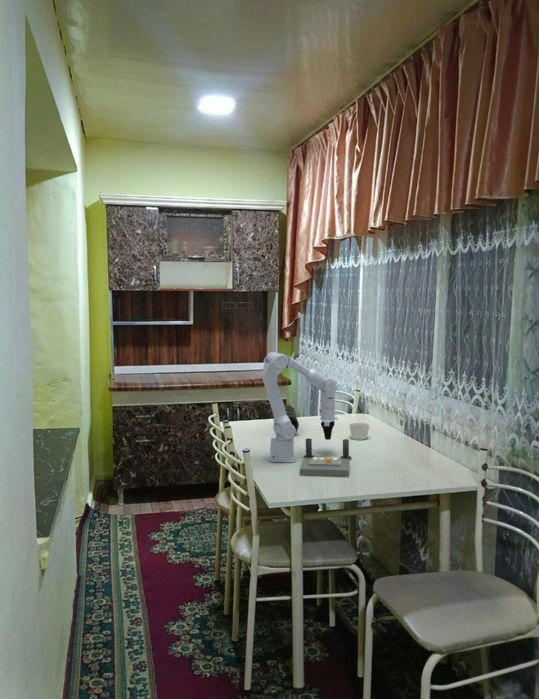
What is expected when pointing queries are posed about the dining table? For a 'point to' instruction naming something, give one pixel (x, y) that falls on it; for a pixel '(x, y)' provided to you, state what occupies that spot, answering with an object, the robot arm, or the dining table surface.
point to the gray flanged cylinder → (308, 448)
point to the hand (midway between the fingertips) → (327, 439)
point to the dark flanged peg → (345, 450)
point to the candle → (359, 430)
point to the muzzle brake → (291, 415)
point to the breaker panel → (325, 467)
